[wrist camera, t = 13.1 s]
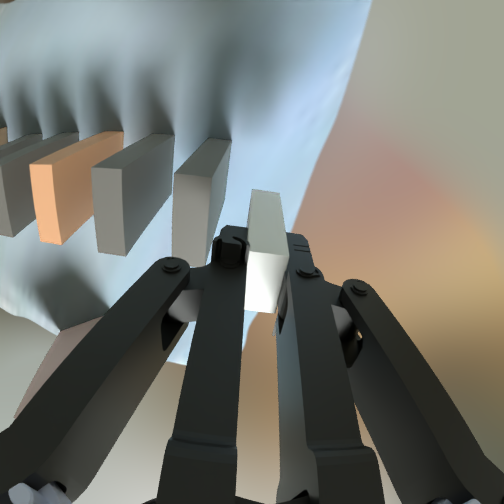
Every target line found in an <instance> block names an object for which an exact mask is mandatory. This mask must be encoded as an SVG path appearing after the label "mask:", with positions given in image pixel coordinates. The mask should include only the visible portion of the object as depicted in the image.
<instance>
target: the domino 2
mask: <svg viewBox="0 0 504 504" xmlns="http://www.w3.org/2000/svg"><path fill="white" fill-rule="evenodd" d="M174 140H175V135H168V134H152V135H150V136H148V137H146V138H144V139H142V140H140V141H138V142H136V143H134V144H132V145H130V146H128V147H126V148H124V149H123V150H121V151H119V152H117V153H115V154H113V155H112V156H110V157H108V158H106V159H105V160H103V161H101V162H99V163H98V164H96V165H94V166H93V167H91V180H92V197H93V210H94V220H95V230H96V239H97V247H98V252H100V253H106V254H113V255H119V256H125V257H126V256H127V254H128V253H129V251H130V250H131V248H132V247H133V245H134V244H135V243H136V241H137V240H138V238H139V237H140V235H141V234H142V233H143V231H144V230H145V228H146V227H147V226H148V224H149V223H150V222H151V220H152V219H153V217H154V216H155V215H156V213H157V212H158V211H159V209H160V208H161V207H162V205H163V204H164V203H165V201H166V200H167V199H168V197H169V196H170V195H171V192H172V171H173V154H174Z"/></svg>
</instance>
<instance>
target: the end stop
mask: <svg viewBox="0 0 504 504" xmlns="http://www.w3.org/2000/svg"><path fill="white" fill-rule="evenodd" d="M6 143H8V141H7V127H3V128H0V146H1V145H4V144H6Z"/></svg>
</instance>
